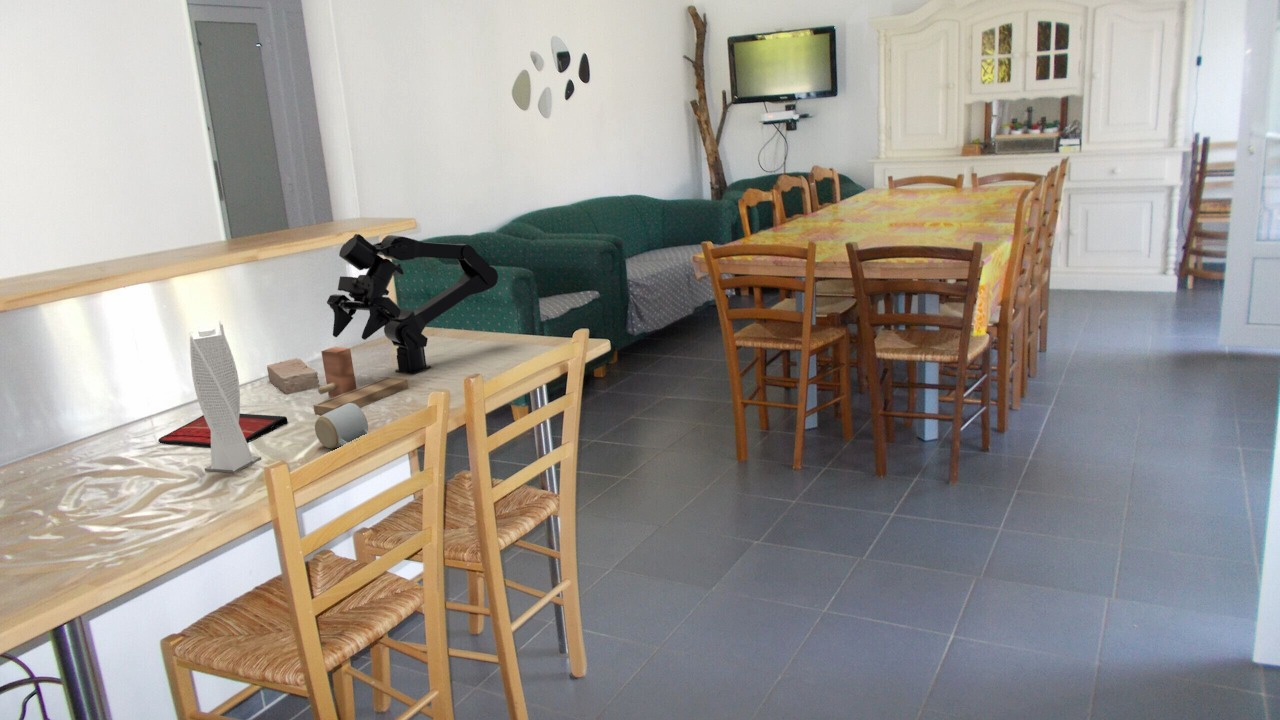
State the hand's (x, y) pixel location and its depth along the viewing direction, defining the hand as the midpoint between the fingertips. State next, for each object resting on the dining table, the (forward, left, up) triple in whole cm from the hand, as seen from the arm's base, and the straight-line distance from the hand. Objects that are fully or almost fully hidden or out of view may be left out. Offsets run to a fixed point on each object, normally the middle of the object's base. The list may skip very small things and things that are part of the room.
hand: (348, 337), depth 216 cm
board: (+5, +8, -13) cm, 16 cm away
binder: (+33, -5, -13) cm, 36 cm away
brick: (+1, -20, -13) cm, 24 cm away
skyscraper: (+44, +15, -13) cm, 49 cm away
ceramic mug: (+28, +27, -13) cm, 41 cm away
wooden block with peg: (+6, 0, -13) cm, 14 cm away
